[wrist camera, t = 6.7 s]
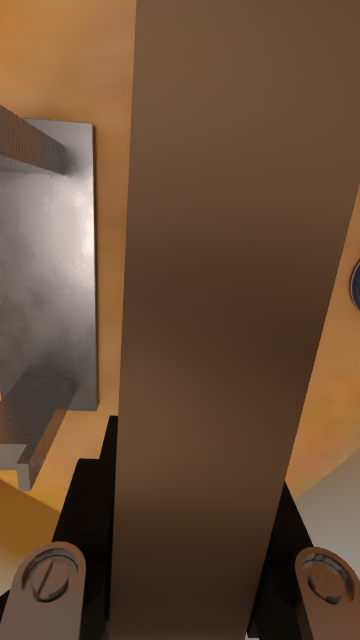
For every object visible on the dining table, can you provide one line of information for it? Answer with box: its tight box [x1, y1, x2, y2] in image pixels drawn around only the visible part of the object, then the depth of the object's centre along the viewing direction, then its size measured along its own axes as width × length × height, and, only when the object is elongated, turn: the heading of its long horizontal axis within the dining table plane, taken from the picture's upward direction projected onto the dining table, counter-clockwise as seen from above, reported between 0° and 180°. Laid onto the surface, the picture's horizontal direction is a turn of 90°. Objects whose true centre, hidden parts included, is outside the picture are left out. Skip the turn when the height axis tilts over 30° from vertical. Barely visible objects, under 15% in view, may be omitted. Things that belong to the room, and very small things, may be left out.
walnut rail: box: [108, 0, 360, 640], centre depth 8 cm, size 30×3×2 cm, turn 174°
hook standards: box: [0, 105, 98, 491], centre depth 27 cm, size 28×10×14 cm, turn 176°
